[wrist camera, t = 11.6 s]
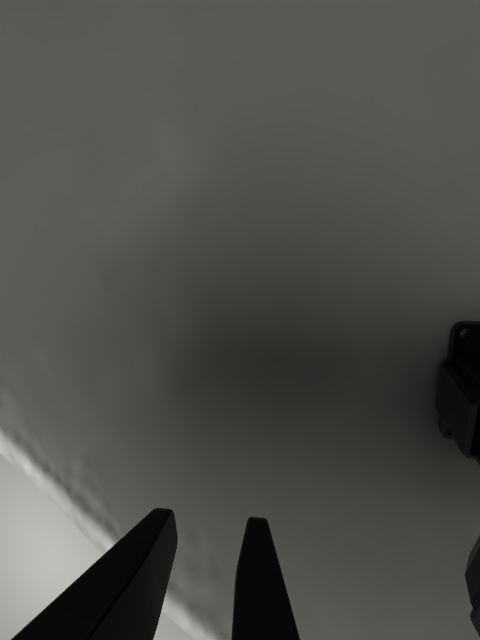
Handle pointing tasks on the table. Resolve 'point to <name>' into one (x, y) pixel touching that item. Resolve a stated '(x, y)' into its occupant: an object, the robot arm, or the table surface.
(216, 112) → the table surface
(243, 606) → the robot arm
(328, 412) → the table surface
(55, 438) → the table surface
